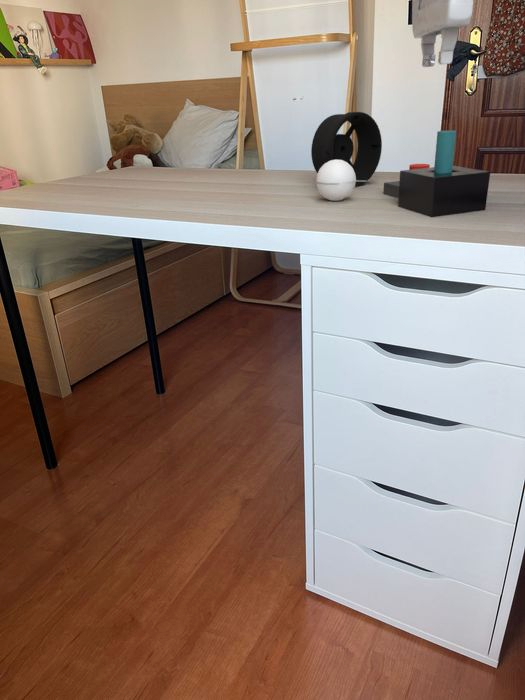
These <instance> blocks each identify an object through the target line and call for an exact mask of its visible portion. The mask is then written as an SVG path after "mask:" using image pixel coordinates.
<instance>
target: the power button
mask: <svg viewBox="0 0 525 700" xmlns="http://www.w3.org/2000/svg"><path fill="white" fill-rule="evenodd" d="M408 166H409V168H408V170H412V169H422V168H431V167H430V164H428V163H413V164H409V165H408Z"/></svg>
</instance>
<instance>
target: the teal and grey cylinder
mask: <svg viewBox="0 0 525 700" xmlns="http://www.w3.org/2000/svg"><path fill="white" fill-rule="evenodd" d="M456 139H457V131H456V130H438V131H437V133H436V144H435V154H434V166H433V167H434V172H435V173H440V174H442V173H451V172H452V168H453V166H454V159H455V147H456Z"/></svg>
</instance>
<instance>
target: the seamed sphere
mask: <svg viewBox="0 0 525 700" xmlns="http://www.w3.org/2000/svg"><path fill="white" fill-rule="evenodd" d="M315 182H316V188H317V190H318V192H319V194H320V195H321V196H322V197H323V198H324V199H326V200H329V201H331V202H339V201H343V200H345V199H346V198H348V197H349V196H350V195H351V194H352V193H353V191H354V189H355V188H356V187H355V183H356V175H355V172H354V170H353V168H352V167H351V166H350V165H349V164H348V163H347V162H345V161H343V160H330V161H329V162H327V163H325V164H324V165H323V166H322V167H321V168H320V169H319V172H318V174H316V179H315Z"/></svg>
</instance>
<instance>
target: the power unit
mask: <svg viewBox="0 0 525 700" xmlns="http://www.w3.org/2000/svg"><path fill="white" fill-rule="evenodd" d="M399 182H400V180H396V181H395V180H394V181H387V182H384V183H383V191H382V192H383V193H382V194H383V195H386V196H389V197H392V198H396V199H399Z"/></svg>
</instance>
